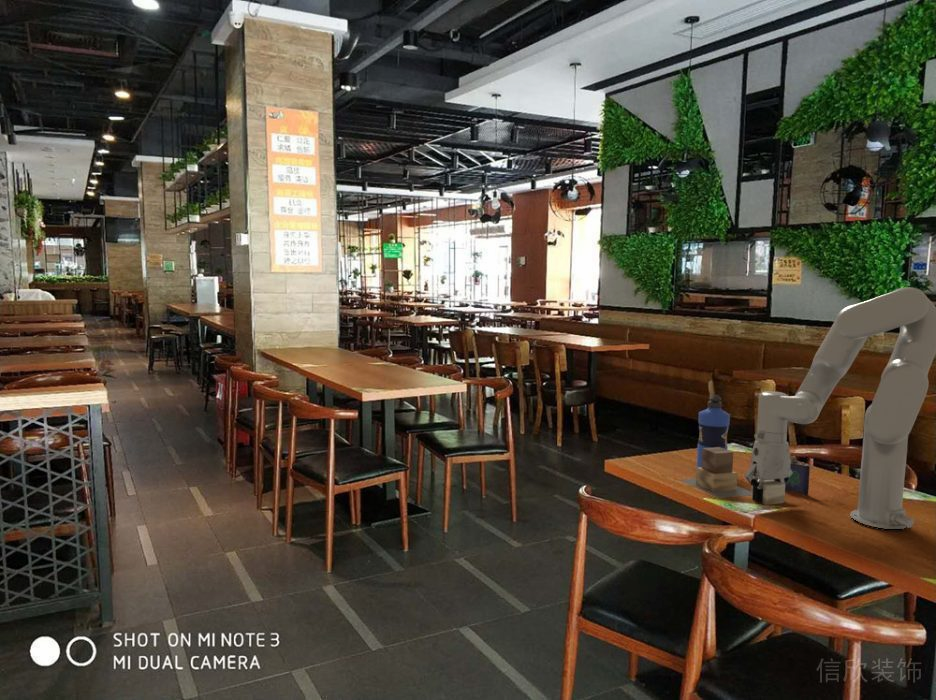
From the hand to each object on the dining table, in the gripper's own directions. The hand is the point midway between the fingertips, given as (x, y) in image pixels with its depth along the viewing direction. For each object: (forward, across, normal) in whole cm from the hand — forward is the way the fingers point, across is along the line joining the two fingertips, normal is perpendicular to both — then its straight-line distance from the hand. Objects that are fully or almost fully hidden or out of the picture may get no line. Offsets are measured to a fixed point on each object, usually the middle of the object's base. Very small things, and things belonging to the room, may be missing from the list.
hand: (767, 499), depth 184 cm
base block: (0, -6, +14) cm, 15 cm away
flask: (+1, +14, +6) cm, 15 cm away
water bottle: (+1, +5, +30) cm, 30 cm away
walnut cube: (-5, -6, +14) cm, 16 cm away
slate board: (+1, -6, +14) cm, 15 cm away
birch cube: (+1, 0, 0) cm, 1 cm away
